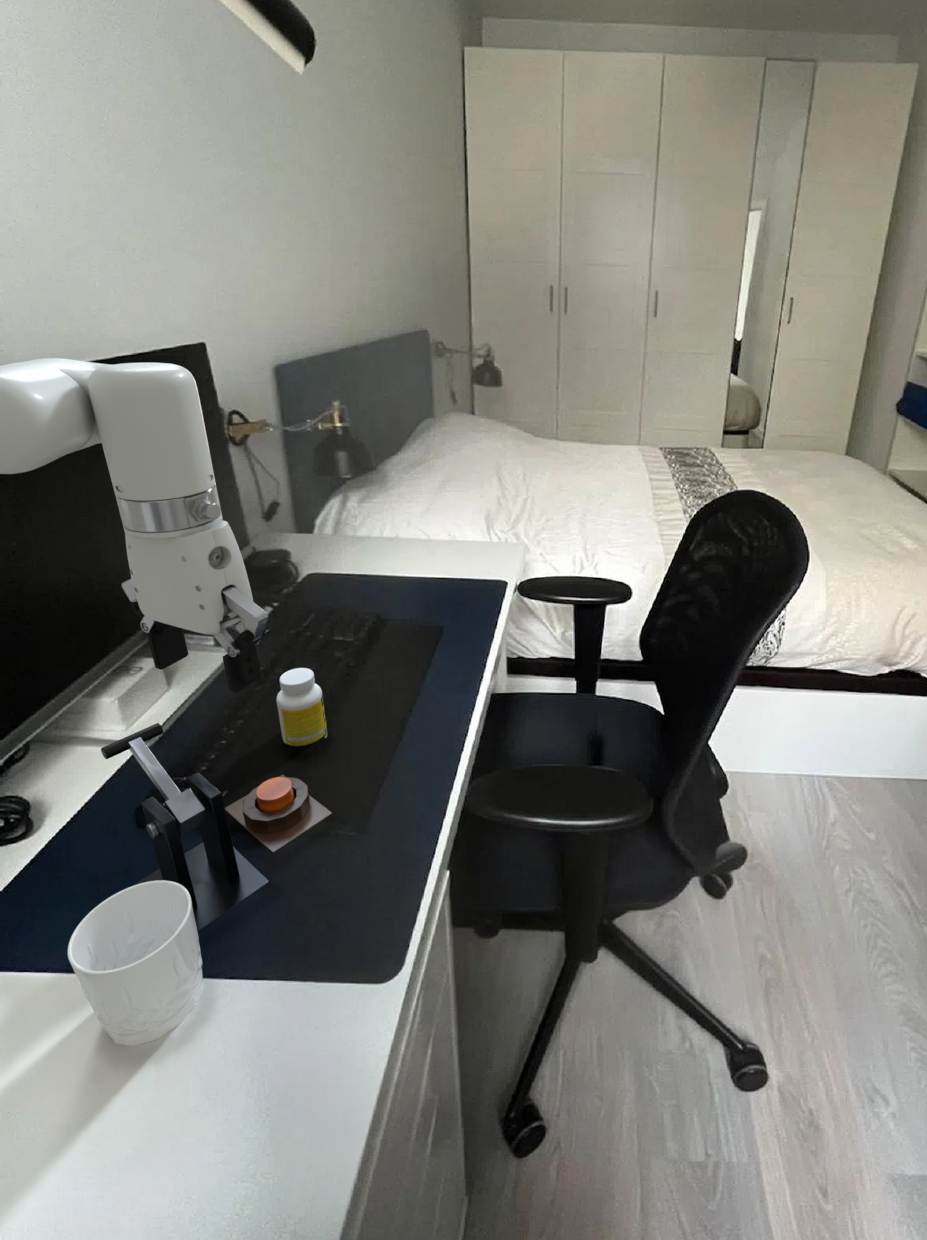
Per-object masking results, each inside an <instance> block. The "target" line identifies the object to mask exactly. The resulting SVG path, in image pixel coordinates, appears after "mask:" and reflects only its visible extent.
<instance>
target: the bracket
mask: <svg viewBox="0 0 927 1240" xmlns="http://www.w3.org/2000/svg"><path fill="white" fill-rule="evenodd" d="M187 783H188V785H189V788H190V789H191V790H192V792H193V793H194V794H195V796H196V797H197V798H198V800H199V801H200V802H201V804H202V805H203V806H204V808H205V824H203V825H201V826H199V827H198V828H199V830H200V835H201V839H202V842H201V843H199V844H198V845H196V846H194V847H193V848H191V849H189V850H188V851H186V852H184V851H185V850H184V847H183V844H182V840H181V837H180V836H179V832H178V828H177V824H176V821H175V818H174V817H173V816H172V815H171V814H170V813H169V812H168V811H167V810H166V809H165V806H163V805H162V804H161V802H159V801H158V800H157V799H156V798H155V797H154V796H150V797H149V798H147V799H144V800H143V801H141V802H140V803H141V804H140V805H141V807H142V811H143V815H144V819H145V822H146V825H145V829H146V831H147V834H148V835H149V837H150V840H151V843H152V846H153V851H154V854H155V857H156V860H157V864H158V867H159V868H158V869H156V870H155V871H153V872H151V873H150V874H148V875H147V876H144V877H143V878H142V879H139V880H138V881H136V882H135V885H137V884H141V883H145V882H150V881H158V880H165V881H172V882H176V883H178V884H180V885H182V886H183V887H185V888H186V889H187V891H188V892H189V894H190V897H191V901H192V907H193V912H194V917H195V922H196V927H197V932H198V933H200V931H203V929H205V928H206V927H208V926H209V925H211V924H212V923H214V922H216V920H218V919H219V918H222V916H224V915H225V914H227V913H228V912H229V911H231V910H232V909H233V908H235V907H236V906H238V905H240V904H241V903H242V902H244V901H245V900H247V899H248V898H249V897H251V896H252V895H254V894H255V893H256V892H258V891H259V890H261V889H262V888H263V887H265V886H266V885H268V884H269V883H270V882H271V880H269V879H268V877H266V876H265V875H264V874H263V873H262V872H261V871H260V870H259V869H258V868H256V866H254V864H252V863H251V862H250V861H249V860H248V859H247V858H246V857H245V856H244V855H243V854H242V853H241V852H240V851H239V850H237V848H236V847H234V844H233V839H232V836H231V835H232V834H231V831H230V826H229V822H228V817H227V811H225V808H226V807H225V804H224V799H223V795H222V792H221V791H220V790H219V789H218V788H217V787H216V786H214V785H213V784H212V783H211V781H209V780H207V778H205V777H204V776H203V774H201V773H199V772H196V773H194V774H192V775H190V776H188V777H187Z"/></svg>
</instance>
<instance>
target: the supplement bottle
mask: <svg viewBox="0 0 927 1240" xmlns="http://www.w3.org/2000/svg"><path fill="white" fill-rule="evenodd" d="M279 687H280V691H279V692H278V693H277V695H276V697H275V698H276V699H275V701H276V707H277V712H278V713H277V714H278V721H279V725H280V732H281V738H282V742H283V743H284V744H285V745H287V746H290V747H304V746H308V745H312V744H315V743H316V742H318V741H320V740H321V739H323V738H324V739H327V737H328V726H327V719H326V711H325V704H324V696H323V690H322V688H321V686H320V685H318V684H317V683H316V679H315V673H314V671H313V670H312V669H311V668H307V667H296V668H292V669H289V670H287V671H285V672H284V673H282V674H281V676H280V677H279Z"/></svg>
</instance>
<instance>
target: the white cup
mask: <svg viewBox="0 0 927 1240" xmlns="http://www.w3.org/2000/svg"><path fill="white" fill-rule="evenodd" d="M199 939H200V938H199V932H197V927H196V922H195V917H194V912H193V907H192V901H191V897H190V894H189V892H188V891H187V889H186V888H185V887H183V886H182V885H180V884H178V883H176V882H172V881H165V880H158V881H150V882H145V883H141V884H137V885H136V884H134V885H132V886H129V887H126V888H123V889H122V890H120V891H117V892H116V893H114V894H112V895H111V896H109V897H107V898H106V899H105V900H103V901H102V902H100V903H99V904H98V905H96V906H95V907H94V908H93V909H92V910H90V911H89V912H88V913H87V914H86V915H85V917H83V918H82V920H80V922H79V924H78V925H77V926H76V928H75V929H74V931H73V932H72V934H71V936H70V939H69V942H68V945H67V958H68V961H69V964H70V966H71V968H72V969H73V972H74V974H75V976H76V978H77V980H78V982H79V984H80V986H81V988H82V991H83V992H84V995H85V998H86V999H87V1001H88V1003H89V1005H90V1006H91V1009H92V1010H93V1012H94V1015H95V1016H96V1018H97V1020H98V1022H99V1023H100V1025H101V1026H102V1027H103V1029H104V1031H105V1032H106V1034H107V1035H108V1036H109V1037H110V1039H111V1040H112V1041H113V1042H114V1043H115V1044H117V1045H126V1046H133V1047H136V1046H139V1045H142V1044H147V1043H150V1042H152V1041H156V1040H158V1039H160V1038H161V1037H163V1036H164V1035H167V1033H169V1032H170V1031H172V1030H174V1029H176V1027H178V1026H180V1025H181V1024H182V1022H184V1020H185V1019H186V1018H187V1017H188V1016H189V1015H190V1013H192V1011H193V1010H194V1009H195V1008H196V1007H197V1004H198V1003H199V1000H200V998H201V995H202V993H203V990H204V988H205V986H204V985H205V983H204V974H203V959H202V950H201V946H200V940H199Z"/></svg>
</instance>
